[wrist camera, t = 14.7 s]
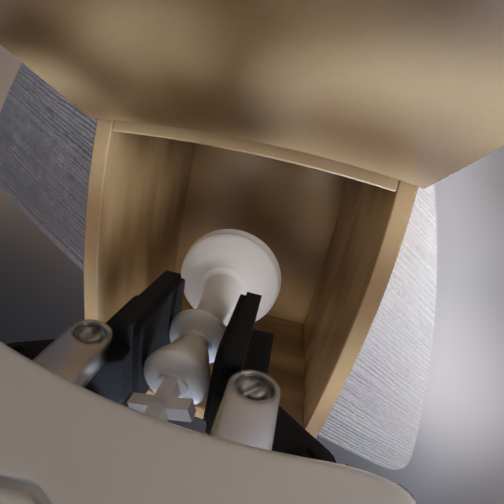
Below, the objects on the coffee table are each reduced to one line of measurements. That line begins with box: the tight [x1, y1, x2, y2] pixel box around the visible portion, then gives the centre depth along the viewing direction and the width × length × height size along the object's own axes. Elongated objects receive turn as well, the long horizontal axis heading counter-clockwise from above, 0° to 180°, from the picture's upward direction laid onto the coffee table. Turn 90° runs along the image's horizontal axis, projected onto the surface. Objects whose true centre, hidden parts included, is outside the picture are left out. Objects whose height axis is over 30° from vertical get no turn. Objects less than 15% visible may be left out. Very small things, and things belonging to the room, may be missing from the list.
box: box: [84, 119, 418, 438], centre depth 19 cm, size 14×13×12 cm
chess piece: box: [127, 229, 281, 422], centre depth 11 cm, size 5×5×10 cm
